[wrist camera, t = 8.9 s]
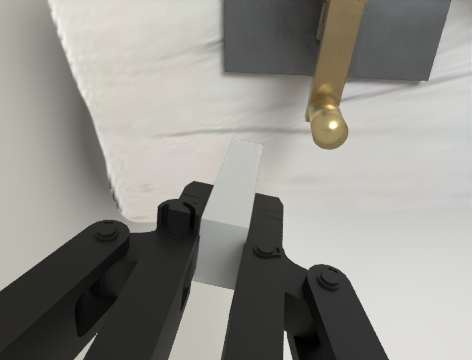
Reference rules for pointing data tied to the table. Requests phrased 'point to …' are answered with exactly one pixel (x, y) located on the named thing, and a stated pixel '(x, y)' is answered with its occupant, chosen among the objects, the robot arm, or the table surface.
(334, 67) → the brass crank handle
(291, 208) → the table surface
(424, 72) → the post base
